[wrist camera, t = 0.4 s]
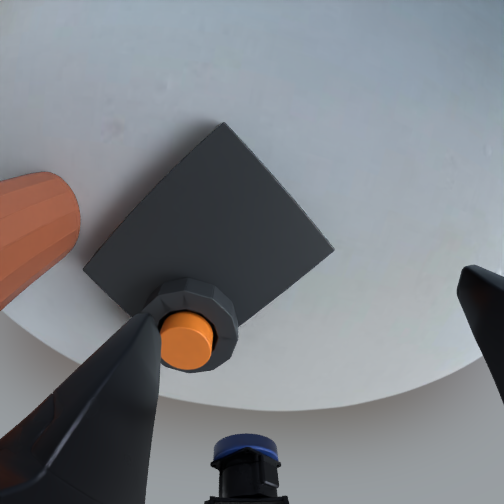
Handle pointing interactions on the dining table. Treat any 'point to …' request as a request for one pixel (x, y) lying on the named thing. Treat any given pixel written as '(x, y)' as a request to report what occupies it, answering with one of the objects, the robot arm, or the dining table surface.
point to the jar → (34, 229)
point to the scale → (210, 244)
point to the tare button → (186, 340)
